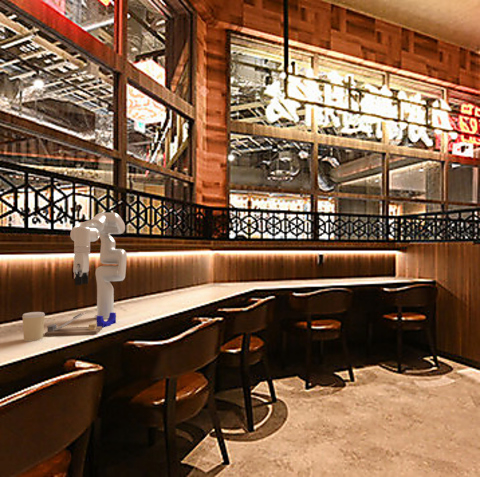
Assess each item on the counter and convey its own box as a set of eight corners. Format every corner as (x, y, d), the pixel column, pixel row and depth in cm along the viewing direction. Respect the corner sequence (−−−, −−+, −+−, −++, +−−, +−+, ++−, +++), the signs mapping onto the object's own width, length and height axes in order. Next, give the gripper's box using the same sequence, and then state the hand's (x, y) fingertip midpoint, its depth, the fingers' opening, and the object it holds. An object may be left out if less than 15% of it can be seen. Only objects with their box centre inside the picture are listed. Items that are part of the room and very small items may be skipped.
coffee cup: (48, 336, 178) (48, 311, 178) (38, 341, 168) (38, 315, 169) (28, 336, 177) (29, 311, 178) (17, 341, 168) (17, 315, 168)
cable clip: (103, 327, 197) (103, 316, 197) (96, 327, 199) (96, 316, 199) (118, 323, 208) (118, 312, 208) (111, 323, 210) (111, 312, 210)
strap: (55, 331, 182) (53, 328, 182) (58, 329, 187) (57, 327, 187) (83, 314, 184) (82, 312, 184) (86, 313, 189) (84, 310, 189)
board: (53, 330, 190) (53, 323, 190) (102, 329, 193) (102, 321, 193) (44, 336, 178) (44, 328, 178) (96, 334, 181) (96, 326, 181)
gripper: (80, 251, 197) (79, 283, 196) (68, 250, 180) (67, 285, 179) (94, 251, 197) (94, 283, 196) (84, 250, 180) (83, 285, 179)
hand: (81, 284), depth 188 cm, fingers open, 9 cm apart
